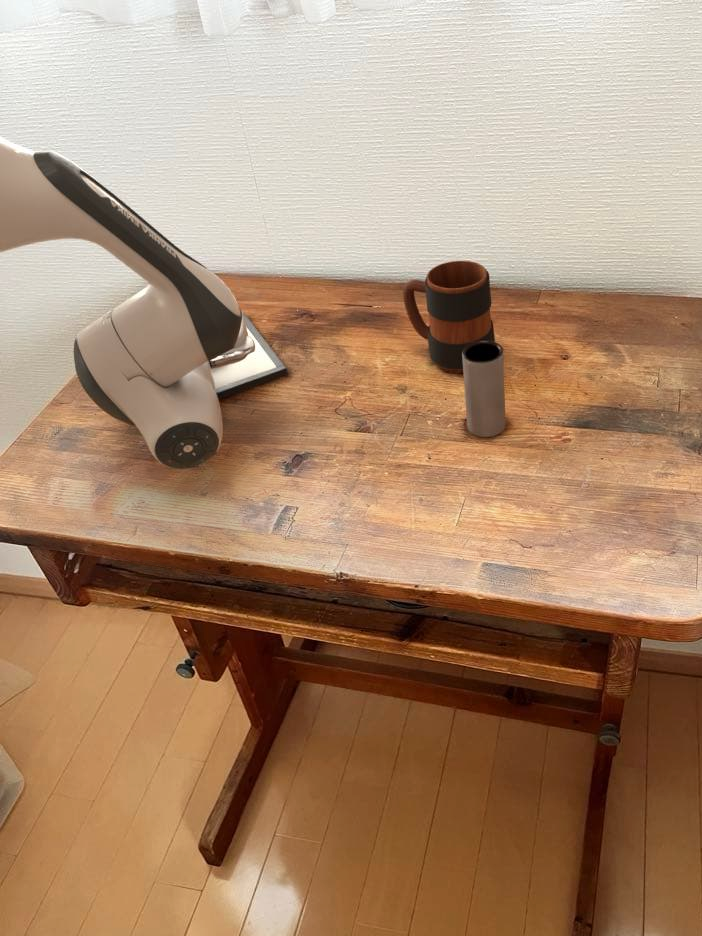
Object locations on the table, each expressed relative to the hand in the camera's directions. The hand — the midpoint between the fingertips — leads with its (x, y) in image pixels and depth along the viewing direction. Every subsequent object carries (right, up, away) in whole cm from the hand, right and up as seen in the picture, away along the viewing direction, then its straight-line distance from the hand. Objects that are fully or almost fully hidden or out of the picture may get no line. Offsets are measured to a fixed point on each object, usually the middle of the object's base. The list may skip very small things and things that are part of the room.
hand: (165, 321), depth 111 cm
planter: (+42, -16, -13) cm, 46 cm away
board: (+3, -6, +4) cm, 7 cm away
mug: (+38, -5, -1) cm, 38 cm away
